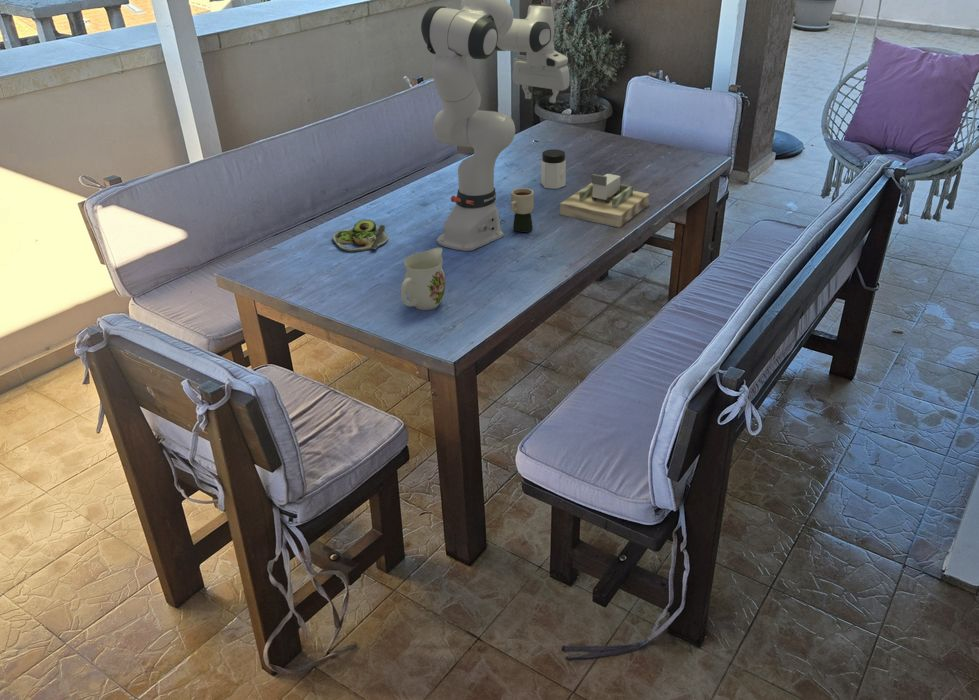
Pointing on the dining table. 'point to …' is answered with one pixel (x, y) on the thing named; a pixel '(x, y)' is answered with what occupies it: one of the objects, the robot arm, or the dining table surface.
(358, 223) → the avocado toast plate
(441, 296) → the pitcher
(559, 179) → the jar
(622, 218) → the dock
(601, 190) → the grey boxy block
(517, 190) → the character mug
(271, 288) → the dining table surface
